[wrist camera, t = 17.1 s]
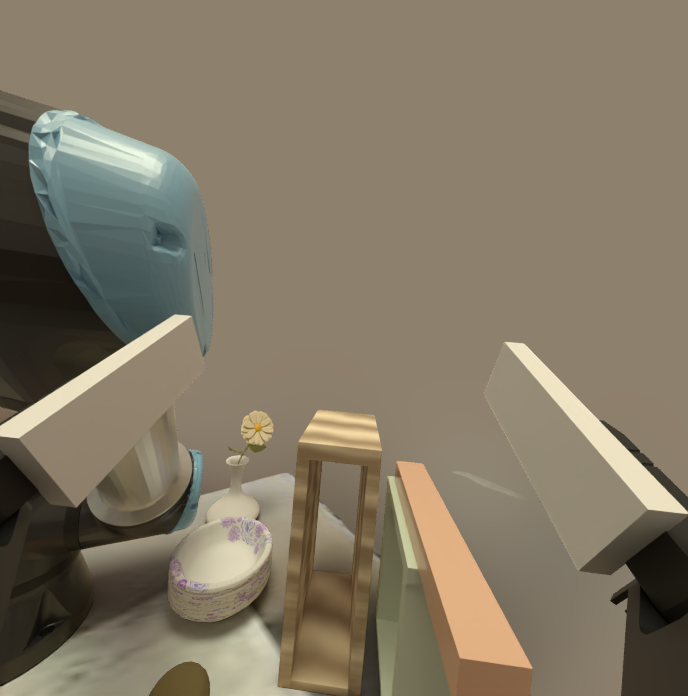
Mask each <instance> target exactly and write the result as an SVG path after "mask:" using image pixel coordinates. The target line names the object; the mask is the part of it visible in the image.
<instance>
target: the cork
mask: <svg viewBox="0 0 688 696" xmlns="http://www.w3.org/2000/svg"><path fill="white" fill-rule="evenodd" d="M149 696H210V682H209V677H208V675H207V672H206V670H205V669H204V668H203V667H202V666H201V665H200V664H198V663H195V662H184V663H182V664H179V665H177V666H175V667H174V668H172V669H171V670H169V671H168V672H167V673H166V674H165V675H164V676H163V677H162V678H161V679H160V680H159V681H158V682H157V684H156V685H155V687H154V688H153V690H152V691H151V693H150V694H149Z"/></svg>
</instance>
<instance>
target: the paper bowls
mask: <svg viewBox="0 0 688 696" xmlns="http://www.w3.org/2000/svg"><path fill="white" fill-rule="evenodd" d="M272 546H273V541H272V537H271V533H270V531H269V530H268V528H267V527H266V526H265V525H264V524H262V523H261V522H259V521H257V520H254V519H251V518H247V517H227V518H222V519H218V520H215V521H212V522H209V523H207V524H204V525H202V526H200V527H199V528H197V529H195V530H194V531H192V532H191V533H190V534H188V535H187V536H186V537H185V538H184V539H183V540H182V541H181V542H180V543H179V544H178V546H177V547H176V549H175V550H174V552H173V554H172V556H171V559H170V563H169V576H168V600H169V603H170V606H171V608H172V609H173V611H174V612H175V613H176V614H178V615H179V616H181V617H182V618H186V620H188V619H189V620H191V621H196V622H216V621H220V620H223V619H226V618H228V617H230V616H232V615H233V614H235V613H237V612H239V611H240V610H242V609H243V608H245V607H246V606H248V605H249V604H250V603H252V602H253V601H254V600H255V599H256V598H257V597H258V596H259V594H260V593H261V592H262V590H263V589H264V587H265V585H266V583H267V581H268V578H269V575H270V570H271V561H272Z"/></svg>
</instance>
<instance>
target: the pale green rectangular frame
mask: <svg viewBox="0 0 688 696" xmlns="http://www.w3.org/2000/svg"><path fill="white" fill-rule="evenodd" d="M375 614H376V630H377V647H378V663H379V679H380V695H381V696H451V693H450V689H449V685H448V681H447V677H446V674H445V670H444V666H443V662H442V658H441V655H440V651H439V647H438V643H437V639H436V636H435V632H434V628H433V624H432V620H431V617H430V613H429V609H428V605H427V601H426V598H425V594H424V590H423V586H422V582H421V579H420V575H419V571H418V567H417V563H416V560H415V556H414V552H413V548H412V544H411V541H410V537H409V533H408V529H407V525H406V522H405V518H404V514H403V510H402V506H401V503H400V499H399V495H398V491H397V487H396V484H395V477H391V476H388V480H387V493H386V504H385V515H384V527H383V537H382V548H381V559H380V570H379V581H378V593H377V604H376V612H375Z"/></svg>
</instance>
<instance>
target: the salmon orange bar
mask: <svg viewBox="0 0 688 696" xmlns="http://www.w3.org/2000/svg"><path fill="white" fill-rule="evenodd" d="M395 484H396V487H397V491H398V495H399V499H400V503H401V506H402V510H403V514H404V518H405V522H406V525H407V529H408V533H409V537H410V541H411V544H412V548H413V552H414V556H415V560H416V563H417V567H418V571H419V575H420V579H421V582H422V586H423V590H424V594H425V598H426V601H427V605H428V609H429V613H430V617H431V620H432V624H433V628H434V632H435V636H436V639H437V643H438V647H439V651H440V655H441V658H442V662H443V666H444V670H445V674H446V677H447V681H448V685H449V689H450V693H451V696H530V692H531V682H532V673H533V668H532V666H531V664H530V663H529V661H528V659H527V657H526V655H525V653H524V651H523V650H522V648H521V646H520V644H519V642H518V640H517V638H516V637H515V635H514V633H513V631H512V629H511V627H510V625H509V623H508V622H507V620H506V618H505V616H504V614H503V612H502V610H501V609H500V607H499V605H498V603H497V601H496V599H495V597H494V596H493V594H492V592H491V590H490V588H489V586H488V584H487V583H486V581H485V579H484V577H483V575H482V573H481V571H480V569H479V568H478V566H477V564H476V562H475V560H474V558H473V556H472V555H471V553H470V551H469V549H468V547H467V545H466V543H465V541H464V540H463V538H462V536H461V534H460V532H459V530H458V528H457V527H456V525H455V523H454V521H453V519H452V517H451V515H450V514H449V512H448V510H447V508H446V506H445V504H444V503H443V500H442V499H441V497H440V495H439V493H438V491H437V489H436V488H435V486H434V484H433V482H432V480H431V478H430V476H429V474H428V473H427V471H426V469H425V467H424V465H423V464H420V463H411V462H401V461H396V470H395Z"/></svg>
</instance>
